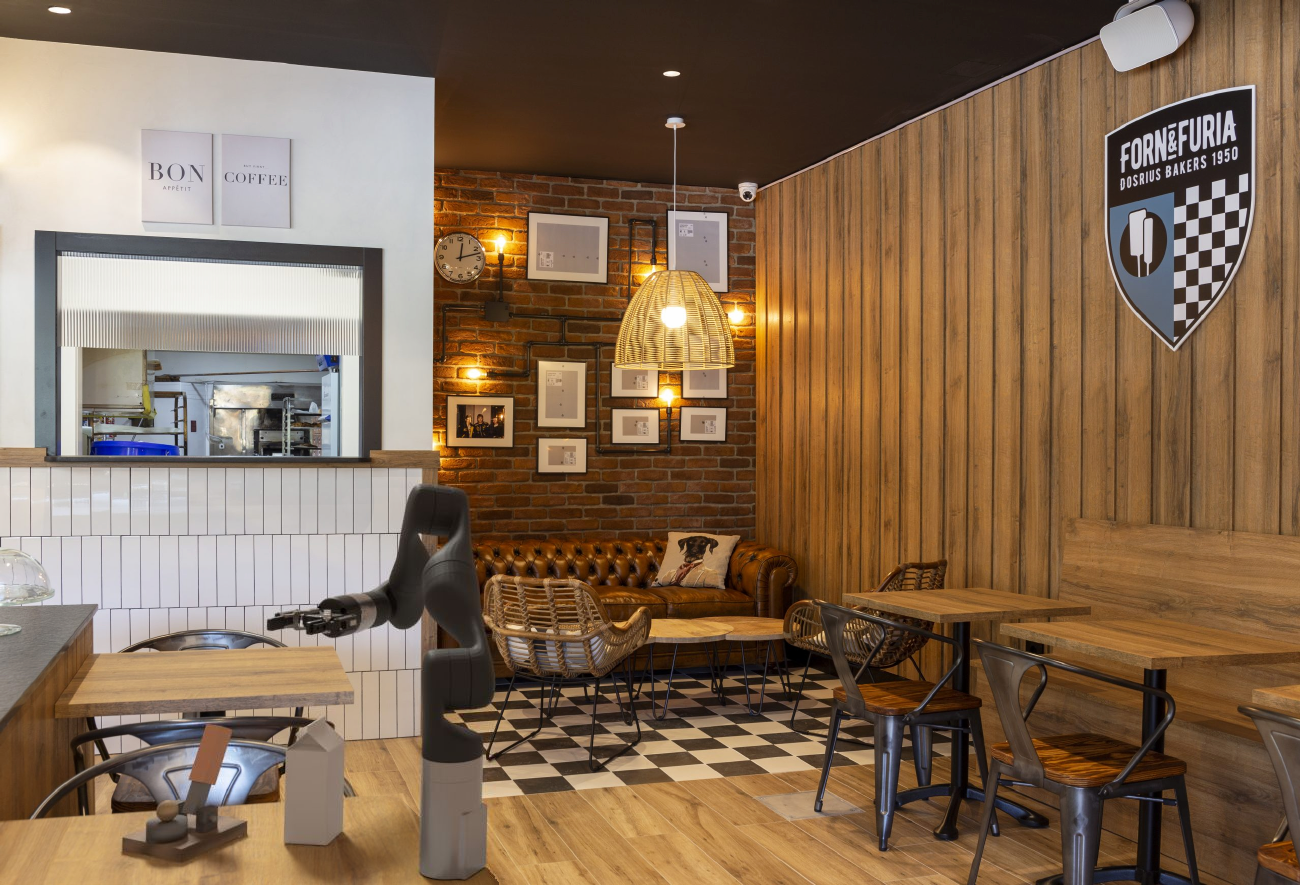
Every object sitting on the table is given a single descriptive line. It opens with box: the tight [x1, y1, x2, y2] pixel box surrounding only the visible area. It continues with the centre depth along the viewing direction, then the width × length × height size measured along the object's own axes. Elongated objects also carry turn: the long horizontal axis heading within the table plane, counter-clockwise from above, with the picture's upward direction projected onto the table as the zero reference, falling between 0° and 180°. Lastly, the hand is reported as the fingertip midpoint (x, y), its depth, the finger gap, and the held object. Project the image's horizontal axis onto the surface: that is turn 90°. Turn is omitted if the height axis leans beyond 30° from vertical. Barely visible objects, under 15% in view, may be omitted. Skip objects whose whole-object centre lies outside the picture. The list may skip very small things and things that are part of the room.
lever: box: [181, 723, 233, 815], centre depth 178 cm, size 3×3×14 cm
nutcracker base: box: [121, 798, 248, 863], centre depth 174 cm, size 12×14×8 cm
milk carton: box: [283, 715, 346, 846], centre depth 177 cm, size 7×7×19 cm
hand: (287, 627), depth 190 cm, fingers open, 8 cm apart
